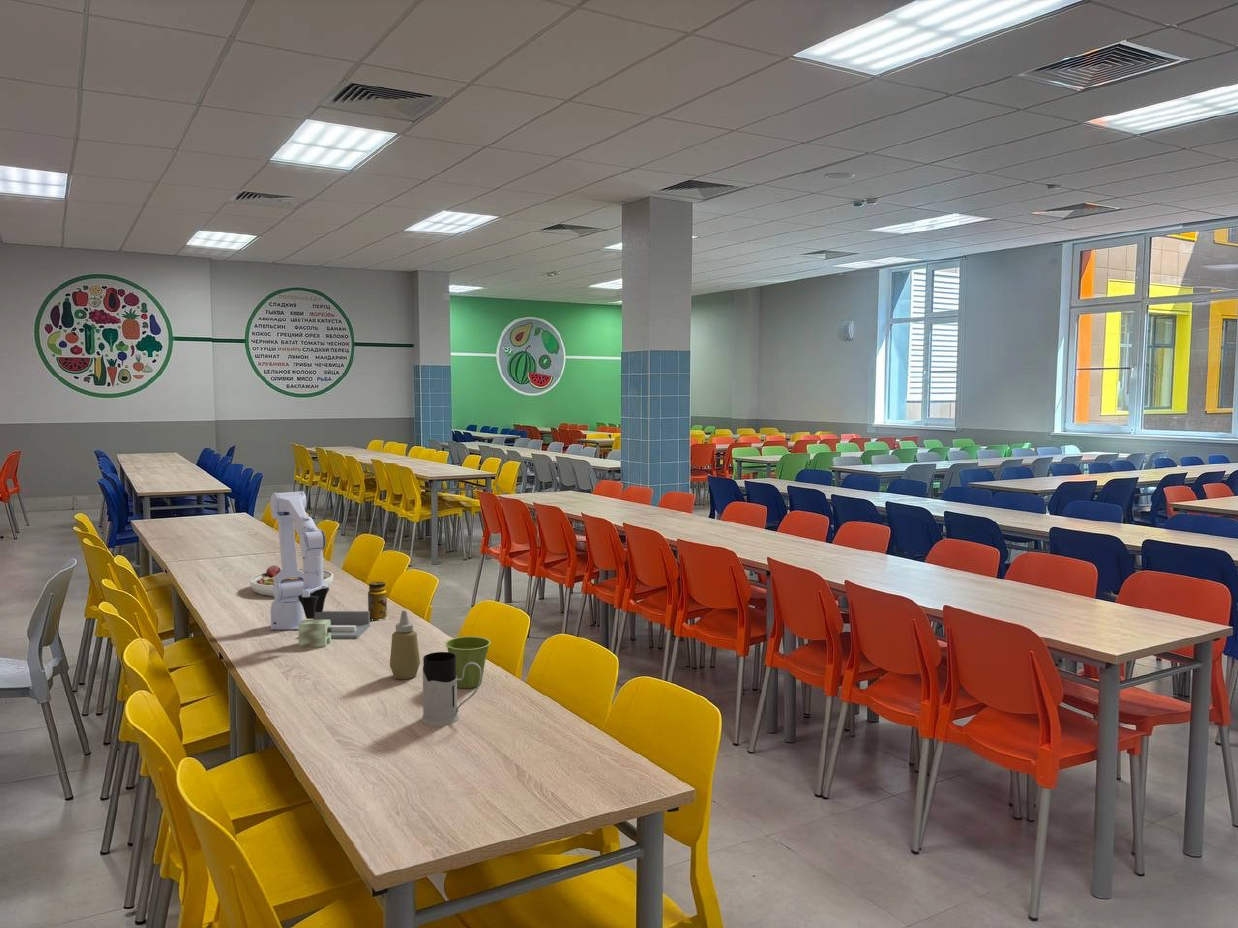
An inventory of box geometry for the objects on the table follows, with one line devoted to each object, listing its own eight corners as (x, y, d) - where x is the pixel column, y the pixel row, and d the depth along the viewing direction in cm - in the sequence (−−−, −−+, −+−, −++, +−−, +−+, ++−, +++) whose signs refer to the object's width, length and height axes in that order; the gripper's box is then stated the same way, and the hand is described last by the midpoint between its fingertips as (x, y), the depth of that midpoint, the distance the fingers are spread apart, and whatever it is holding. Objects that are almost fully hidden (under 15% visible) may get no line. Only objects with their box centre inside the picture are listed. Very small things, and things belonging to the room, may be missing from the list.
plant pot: (476, 694, 219) (476, 651, 218) (436, 688, 223) (436, 646, 222) (499, 679, 230) (498, 638, 229) (460, 674, 234) (459, 634, 233)
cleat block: (298, 646, 258) (298, 623, 258) (304, 641, 263) (304, 619, 263) (328, 646, 258) (328, 624, 258) (334, 641, 263) (333, 619, 263)
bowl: (350, 587, 337) (349, 567, 336) (283, 602, 312) (283, 581, 311) (300, 577, 353) (299, 558, 352) (233, 591, 328) (233, 571, 327)
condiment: (390, 618, 290) (390, 583, 289) (365, 622, 285) (365, 586, 284) (383, 614, 296) (383, 579, 295) (359, 617, 292) (358, 582, 290)
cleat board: (299, 638, 267) (298, 622, 266) (314, 625, 281) (314, 610, 280) (357, 638, 267) (357, 622, 267) (369, 626, 281) (369, 611, 280)
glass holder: (426, 711, 207) (425, 650, 206) (485, 712, 207) (484, 651, 206) (416, 725, 199) (416, 662, 197) (478, 726, 198) (477, 663, 197)
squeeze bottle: (426, 673, 235) (425, 608, 233) (409, 682, 227) (408, 616, 226) (400, 670, 238) (399, 606, 236) (383, 679, 230) (382, 613, 228)
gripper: (318, 576, 252) (319, 621, 253) (334, 565, 266) (335, 608, 267) (294, 575, 252) (295, 621, 253) (311, 565, 266) (312, 608, 267)
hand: (314, 615), depth 260 cm, fingers open, 7 cm apart
